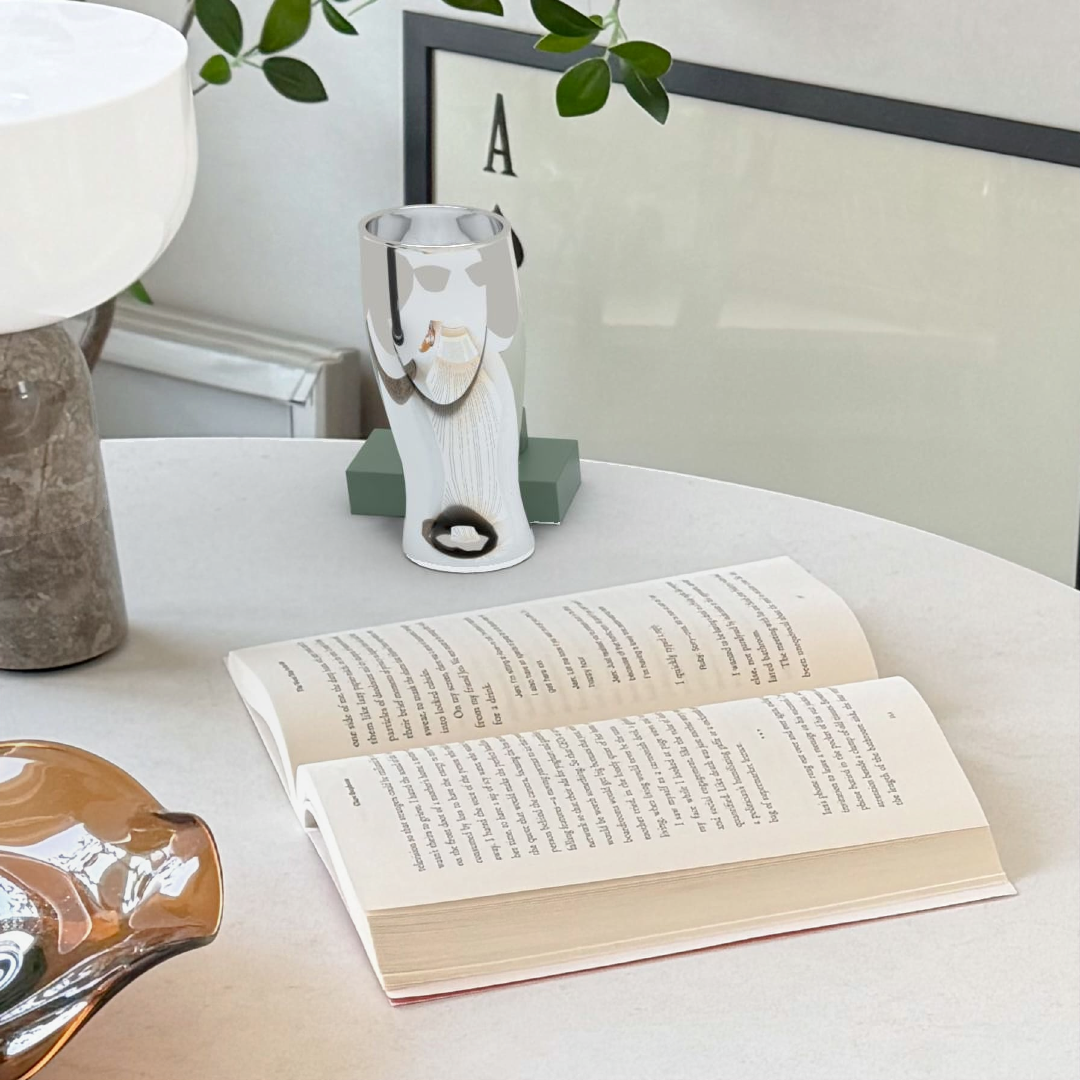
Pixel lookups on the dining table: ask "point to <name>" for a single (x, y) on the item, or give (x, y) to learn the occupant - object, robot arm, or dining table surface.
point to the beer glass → (450, 376)
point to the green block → (542, 470)
